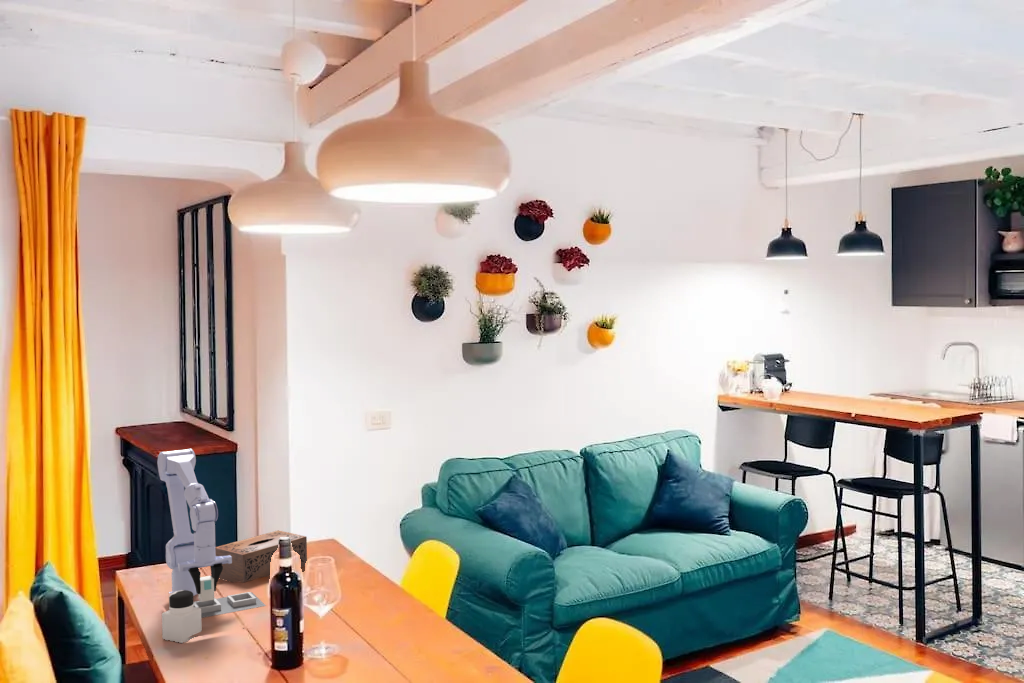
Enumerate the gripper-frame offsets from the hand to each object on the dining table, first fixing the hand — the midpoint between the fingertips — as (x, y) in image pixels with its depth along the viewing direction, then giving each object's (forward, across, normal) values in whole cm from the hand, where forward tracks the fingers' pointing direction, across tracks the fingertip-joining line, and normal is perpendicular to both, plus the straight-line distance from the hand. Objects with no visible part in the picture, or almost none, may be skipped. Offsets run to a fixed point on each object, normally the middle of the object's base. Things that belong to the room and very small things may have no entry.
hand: (206, 591), depth 258 cm
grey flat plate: (+6, +5, 0) cm, 8 cm away
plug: (+2, 0, 0) cm, 2 cm away
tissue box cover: (+6, +25, +30) cm, 39 cm away
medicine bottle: (+6, -10, -16) cm, 20 cm away
